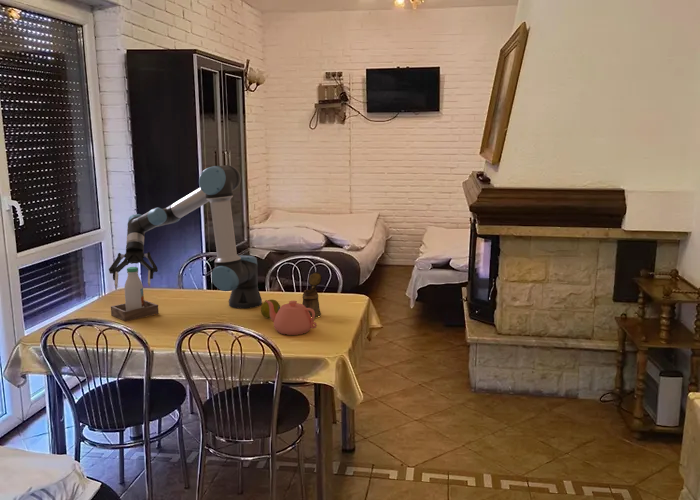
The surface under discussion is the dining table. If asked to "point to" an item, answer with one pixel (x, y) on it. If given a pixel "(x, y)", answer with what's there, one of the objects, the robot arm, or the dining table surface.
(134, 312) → the tray
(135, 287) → the milk bottle
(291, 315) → the teapot
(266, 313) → the lemon
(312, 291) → the dark brown tall piece
